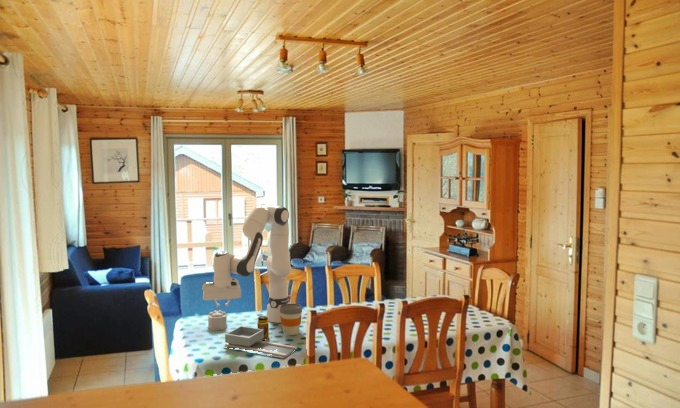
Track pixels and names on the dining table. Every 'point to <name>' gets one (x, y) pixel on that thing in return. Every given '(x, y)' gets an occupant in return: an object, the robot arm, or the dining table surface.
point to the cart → (244, 336)
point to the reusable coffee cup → (290, 318)
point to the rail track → (267, 348)
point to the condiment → (264, 326)
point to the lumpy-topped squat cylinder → (217, 320)
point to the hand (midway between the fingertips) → (222, 307)
